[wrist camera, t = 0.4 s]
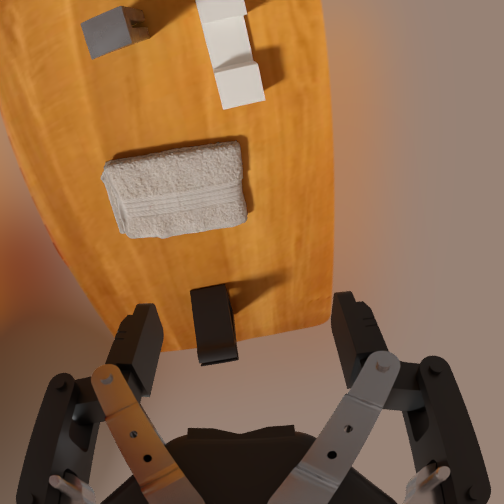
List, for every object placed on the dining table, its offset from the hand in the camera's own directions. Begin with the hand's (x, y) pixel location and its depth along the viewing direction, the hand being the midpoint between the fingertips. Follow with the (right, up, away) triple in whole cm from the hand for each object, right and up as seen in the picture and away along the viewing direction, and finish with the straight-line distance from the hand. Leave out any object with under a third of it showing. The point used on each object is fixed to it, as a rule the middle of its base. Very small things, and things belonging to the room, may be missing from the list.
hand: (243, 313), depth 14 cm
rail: (-4, +31, +10) cm, 32 cm away
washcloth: (-10, +11, +27) cm, 31 cm away
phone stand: (-7, -6, +42) cm, 43 cm away
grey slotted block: (-13, +27, +12) cm, 32 cm away
